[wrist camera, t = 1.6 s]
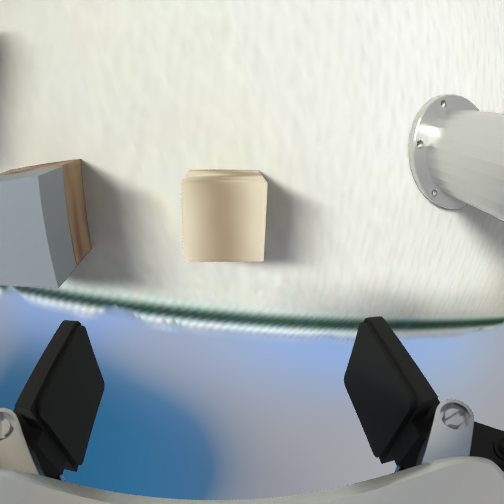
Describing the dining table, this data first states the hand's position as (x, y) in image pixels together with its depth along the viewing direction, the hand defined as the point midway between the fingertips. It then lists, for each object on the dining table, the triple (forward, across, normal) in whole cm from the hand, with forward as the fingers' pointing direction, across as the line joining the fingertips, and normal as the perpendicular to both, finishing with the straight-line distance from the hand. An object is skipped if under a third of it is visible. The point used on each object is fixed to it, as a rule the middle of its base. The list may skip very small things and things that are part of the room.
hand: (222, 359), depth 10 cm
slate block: (+16, +18, 0) cm, 24 cm away
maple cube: (+20, 0, 0) cm, 20 cm away
